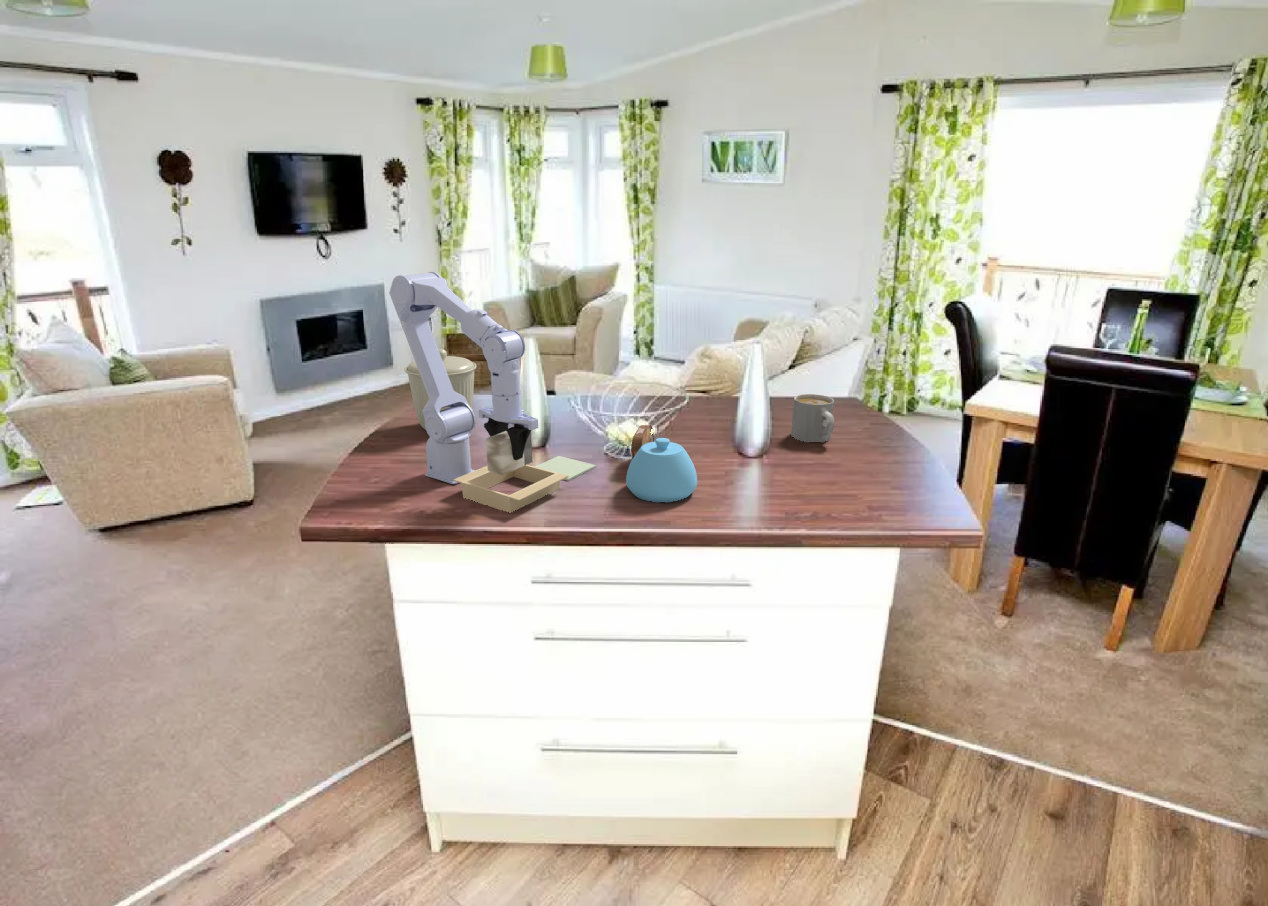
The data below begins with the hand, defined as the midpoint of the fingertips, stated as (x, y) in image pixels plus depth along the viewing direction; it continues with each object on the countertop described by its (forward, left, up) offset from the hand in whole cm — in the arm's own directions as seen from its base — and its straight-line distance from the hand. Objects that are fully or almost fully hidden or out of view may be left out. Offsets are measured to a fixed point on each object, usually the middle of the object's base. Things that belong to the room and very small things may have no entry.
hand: (509, 456), depth 151 cm
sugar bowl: (+25, +19, -8) cm, 33 cm away
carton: (0, 0, -8) cm, 8 cm away
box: (0, 0, -2) cm, 2 cm away
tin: (+13, +30, -8) cm, 34 cm away
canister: (-45, +23, -8) cm, 51 cm away
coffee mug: (+39, +70, -8) cm, 81 cm away
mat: (0, +17, -8) cm, 19 cm away
